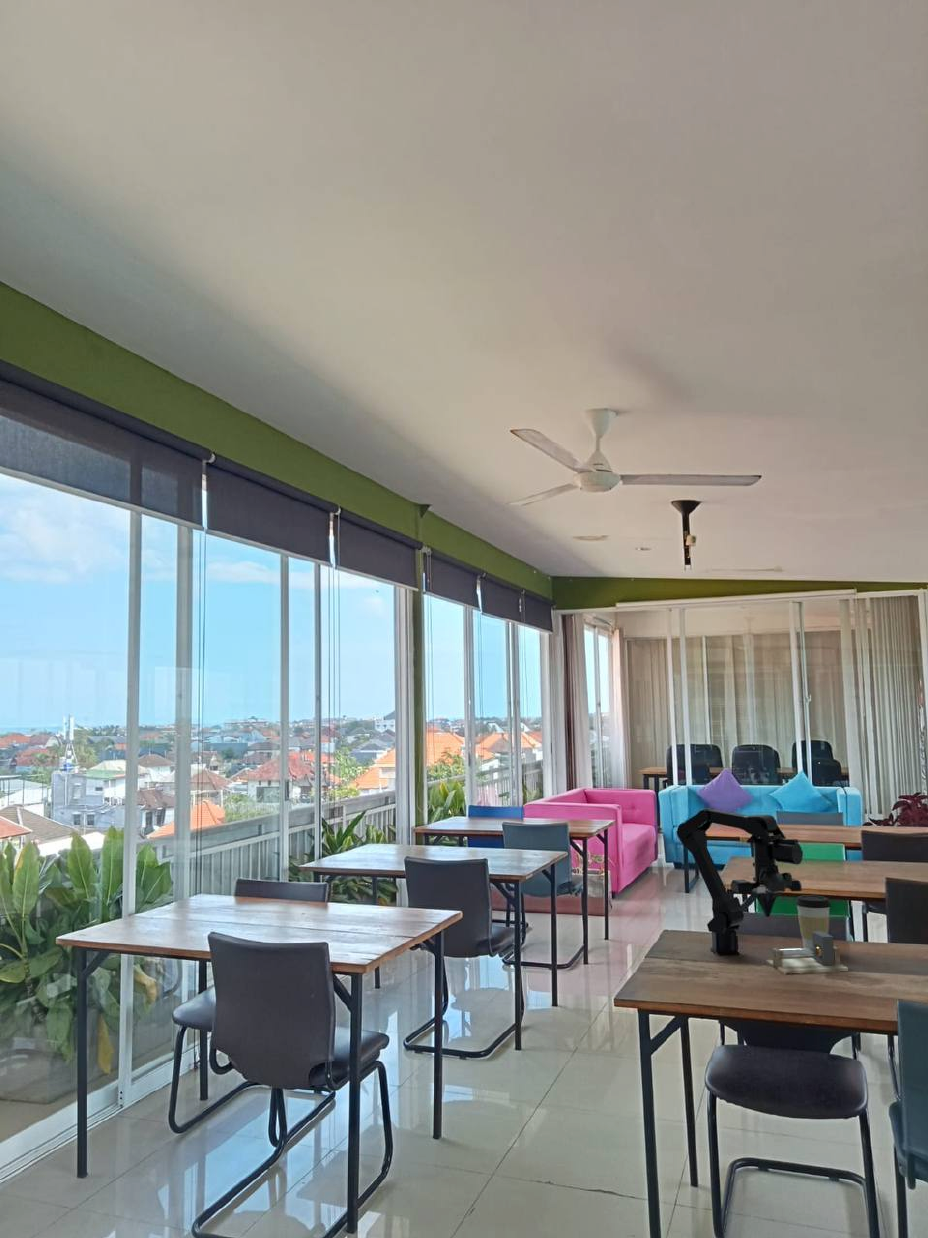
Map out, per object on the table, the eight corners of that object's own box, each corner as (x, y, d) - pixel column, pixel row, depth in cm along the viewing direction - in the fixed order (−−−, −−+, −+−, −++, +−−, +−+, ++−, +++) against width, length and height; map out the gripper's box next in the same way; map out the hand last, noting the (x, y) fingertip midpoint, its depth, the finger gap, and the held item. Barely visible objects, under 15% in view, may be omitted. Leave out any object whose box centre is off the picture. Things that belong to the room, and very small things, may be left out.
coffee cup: (827, 946, 274) (825, 894, 275) (837, 955, 264) (834, 901, 266) (793, 945, 275) (791, 894, 276) (802, 954, 265) (800, 901, 267)
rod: (777, 959, 250) (776, 950, 251) (773, 956, 253) (772, 947, 253) (839, 956, 253) (838, 947, 253) (834, 954, 255) (834, 945, 255)
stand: (784, 974, 246) (784, 955, 246) (766, 963, 257) (765, 944, 257) (847, 971, 248) (846, 952, 248) (827, 960, 259) (826, 942, 259)
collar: (824, 965, 250) (822, 937, 251) (813, 959, 256) (811, 931, 257) (834, 964, 250) (833, 936, 251) (823, 958, 256) (821, 931, 257)
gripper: (745, 866, 251) (747, 924, 249) (809, 864, 253) (812, 922, 252) (729, 859, 262) (731, 915, 260) (790, 857, 264) (793, 913, 263)
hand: (767, 916), depth 259 cm, fingers closed
